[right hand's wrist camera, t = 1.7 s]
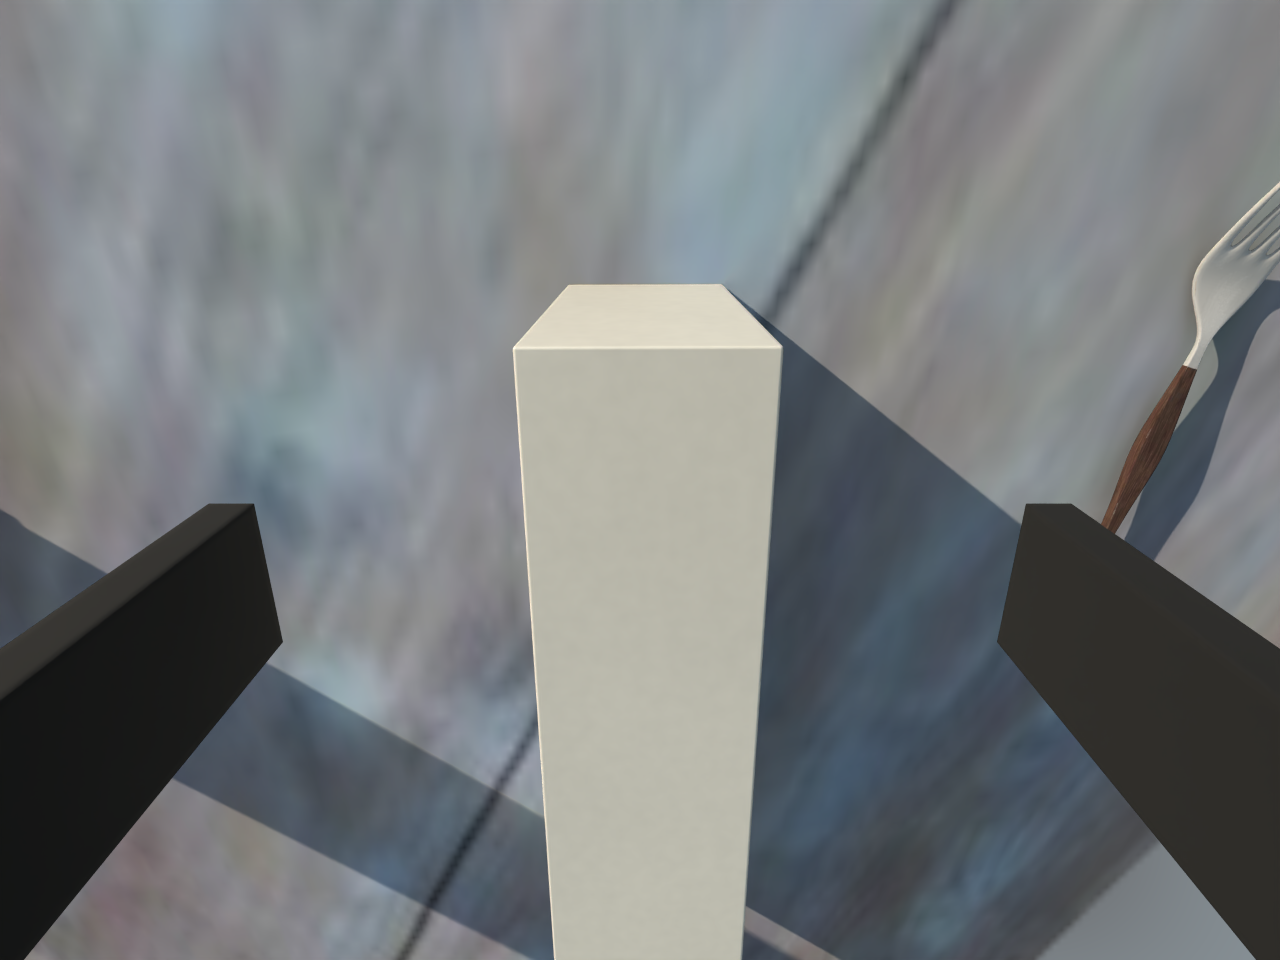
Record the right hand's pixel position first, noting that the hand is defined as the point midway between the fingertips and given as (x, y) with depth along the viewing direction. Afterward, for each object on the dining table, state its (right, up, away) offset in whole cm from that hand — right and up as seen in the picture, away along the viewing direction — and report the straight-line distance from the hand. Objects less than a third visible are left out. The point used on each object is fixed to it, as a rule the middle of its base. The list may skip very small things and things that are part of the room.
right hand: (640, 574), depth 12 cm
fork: (+21, +5, +16) cm, 27 cm away
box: (0, -3, +20) cm, 20 cm away
